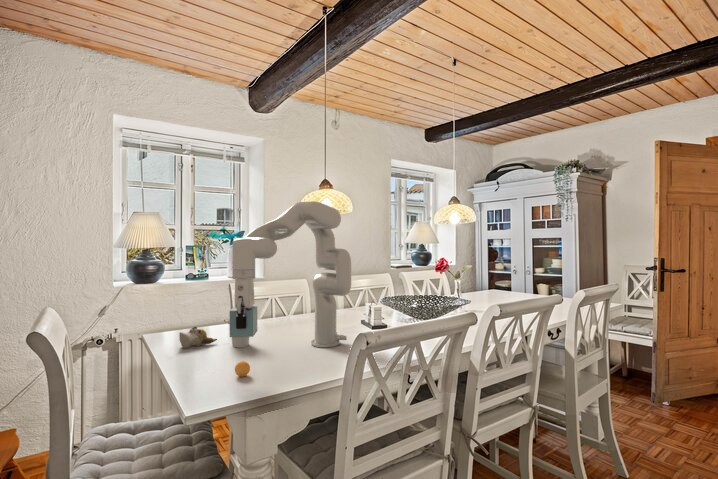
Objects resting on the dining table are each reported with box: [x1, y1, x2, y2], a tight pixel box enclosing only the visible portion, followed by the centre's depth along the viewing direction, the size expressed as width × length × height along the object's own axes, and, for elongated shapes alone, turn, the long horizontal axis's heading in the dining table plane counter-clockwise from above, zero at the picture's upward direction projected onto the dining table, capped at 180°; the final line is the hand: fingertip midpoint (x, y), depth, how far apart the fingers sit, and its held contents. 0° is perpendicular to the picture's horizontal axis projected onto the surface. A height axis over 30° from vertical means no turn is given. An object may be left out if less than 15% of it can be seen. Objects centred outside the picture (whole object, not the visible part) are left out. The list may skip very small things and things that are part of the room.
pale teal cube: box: [229, 305, 258, 338], centre depth 136 cm, size 8×8×9 cm
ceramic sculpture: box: [179, 326, 218, 349], centre depth 173 cm, size 11×9×15 cm
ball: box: [234, 360, 251, 377], centre depth 136 cm, size 5×5×5 cm
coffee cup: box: [231, 337, 250, 348], centre depth 174 cm, size 9×9×15 cm
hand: (243, 325), depth 136 cm, fingers closed on pale teal cube, 7 cm apart
